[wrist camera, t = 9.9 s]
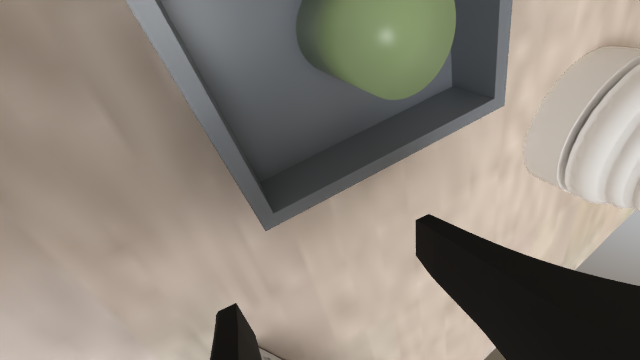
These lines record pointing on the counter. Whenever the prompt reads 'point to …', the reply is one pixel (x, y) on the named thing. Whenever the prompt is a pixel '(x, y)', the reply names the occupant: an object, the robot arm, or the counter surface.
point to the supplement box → (267, 355)
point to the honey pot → (591, 129)
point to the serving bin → (313, 96)
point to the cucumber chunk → (378, 42)
